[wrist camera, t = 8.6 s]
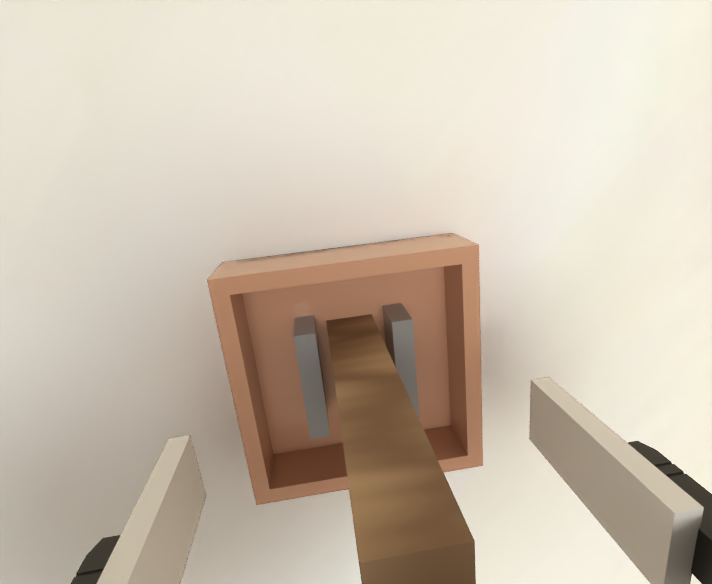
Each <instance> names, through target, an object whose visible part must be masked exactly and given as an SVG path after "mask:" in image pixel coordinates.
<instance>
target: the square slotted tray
mask: <svg viewBox="0 0 712 584" xmlns="http://www.w3.org/2000/svg"><path fill="white" fill-rule="evenodd" d="M207 282H208V287H209V291H210V296H211V300H212V305H213V309H214V314H215V318H216V323H217V328H218V332H219V337H220V341H221V346H222V350H223V355H224V359H225V364H226V368H227V373H228V378H229V382H230V387H231V391H232V396H233V400H234V405H235V409H236V414H237V418H238V423H239V428H240V432H241V437H242V441H243V446H244V450H245V455H246V459H247V464H248V468H249V473H250V478H251V482H252V487H253V491H254V496H255V500H256V505H259V504H265V503H271V502H276V501H282V500H288V499H293V498H299V497H305V496H311V495H316V494H322V493H328V492H334V491H339V490H345V489H349V485H348V478H347V470H346V463H345V455H344V448H343V441H342V433H341V426H340V418H339V411H338V404H337V396H336V389H335V382H334V374H333V367H332V359H331V352H330V345H329V337H328V330H327V322H326V320H333V319H340V318H348V317H355V316H362V315H369V314H372V316H373V319H374V321H375V323H376V325H377V327H378V330H379V332H380V334H381V336H382V338H383V341H384V343H385V345H386V347H387V349H388V352H389V354H390V356H391V358H392V361H393V363H394V365H395V367H396V369H397V372H398V374H399V376H400V378H401V380H402V383H403V385H404V387H405V389H406V391H407V394H408V396H409V398H410V400H411V402H412V405H413V407H414V409H415V411H416V413H417V416H418V418H419V420H420V422H421V424H422V427H423V429H424V431H425V433H426V435H427V438H428V440H429V442H430V444H431V446H432V449H433V451H434V453H435V455H436V457H437V460H438V462H439V464H440V466H441V469H442V471H443V472H449V471H454V470H460V469H466V468H472V467H477V466H483V450H482V395H481V341H480V286H479V244H476V243H474V242H472V241H469V240H467V239H465V238H463V237H460V236H458V235H456V234H453V233H449V234H441V235H434V236H426V237H418V238H410V239H402V240H394V241H386V242H378V243H370V244H362V245H355V246H347V247H339V248H331V249H323V250H315V251H307V252H299V253H291V254H283V255H276V256H268V257H260V258H252V259H244V260H236V261H228V262H222V264H221V265H220V266H219V267H218V268H217V269H216V270H215V271H214V272H213V274H212V275H211V276H210V277H209V278H208V279H207Z"/></svg>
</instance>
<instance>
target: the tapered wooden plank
mask: <svg viewBox="0 0 712 584" xmlns="http://www.w3.org/2000/svg"><path fill="white" fill-rule="evenodd" d="M326 322H327V330H328V337H329V345H330V352H331V359H332V367H333V374H334V382H335V389H336V396H337V404H338V411H339V418H340V426H341V433H342V441H343V448H344V455H345V463H346V470H347V478H348V485H349V492H350V500H351V507H352V514H353V522H354V529H355V537H356V544H357V551H358V559H359V566H360V573H361V581H362V584H476V580H475V543H474V539H473V537H472V535H471V532H470V530H469V528H468V526H467V524H466V521H465V519H464V517H463V515H462V513H461V510H460V508H459V506H458V504H457V502H456V499H455V497H454V495H453V493H452V491H451V488H450V486H449V484H448V482H447V480H446V477H445V475H444V473H443V471H442V469H441V466H440V464H439V462H438V460H437V457H436V455H435V453H434V451H433V449H432V446H431V444H430V442H429V440H428V438H427V435H426V433H425V431H424V429H423V427H422V424H421V422H420V420H419V418H418V416H417V413H416V411H415V409H414V407H413V405H412V402H411V400H410V398H409V396H408V394H407V391H406V389H405V387H404V385H403V383H402V380H401V378H400V376H399V374H398V372H397V369H396V367H395V365H394V363H393V361H392V358H391V356H390V354H389V352H388V349H387V347H386V345H385V343H384V341H383V338H382V336H381V334H380V332H379V330H378V327H377V325H376V323H375V321H374V319H373V316H372V314H369V315H362V316H355V317H348V318H340V319H333V320H326Z"/></svg>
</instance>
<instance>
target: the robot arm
mask: <svg viewBox="0 0 712 584" xmlns="http://www.w3.org/2000/svg"><path fill="white" fill-rule="evenodd" d="M529 439H530V440H531V441H532V443H533V444H534V445H535V446H536V447H537V449H538V450H539V451H540V452H541V453H542V455H543V456H544V457H545V458H546V459H547V460H548V462H549V463H550V464H551V465H552V466H553V468H554V469H555V470H556V471H557V472H558V474H559V475H560V476H561V477H562V478H563V480H564V481H565V482H566V483H567V484H568V486H569V487H570V488H571V489H572V490H573V492H574V493H575V494H576V495H577V496H578V497H579V499H580V500H581V501H582V502H583V503H584V505H585V506H586V507H587V508H588V509H589V511H590V512H591V513H592V514H593V515H594V517H595V518H596V519H597V520H598V521H599V523H600V524H601V525H602V526H603V527H604V528H605V530H606V531H607V532H608V533H609V534H610V536H611V537H612V538H613V539H614V540H615V542H616V543H617V544H618V545H619V546H620V548H621V549H622V550H623V551H624V552H625V554H626V555H627V556H628V557H629V558H630V560H631V561H632V562H633V563H634V564H635V565H636V567H637V568H638V569H639V570H640V571H641V573H642V574H643V575H644V576H645V577H646V579H647V580H648V581H649V582H650V583H651V584H690V581H691V576H692V574H693V575H694V576H695V577H696V578H697V579H698V580H699V581H700V582H701V583H702V584H712V494H711V493H710V492H708V491H707V490H706V489H705V488H703V487H702V486H701V485H700V484H698V483H697V482H696V481H695V480H693V479H692V478H691V477H689V476H688V475H687V474H684V473H683V471H682V470H681V469H679V468H678V467H677V466H676V465H674V464H672V463H671V461H669V460H668V459H667V458H666V457H664V456H663V455H662V454H661V453H659V452H658V451H657V450H655V449H653V448H651V447H649V446H647V445H645V444H643V443H641V442H639V441H634V442H629V443H627V442H626V441H625V440H623V439H622V438H621V437H620V436H619V435H617V434H616V433H615V432H614V431H613V430H612V429H610V428H609V427H608V426H607V425H606V424H604V423H603V422H602V421H601V420H600V419H599V418H597V417H596V416H595V415H594V414H593V413H591V412H590V411H589V410H588V409H587V408H586V407H584V406H583V405H582V404H581V403H580V402H578V401H577V400H576V399H575V398H574V397H573V396H571V395H570V394H569V393H568V392H567V391H565V390H564V389H563V388H562V387H561V386H559V385H558V384H557V383H556V382H555V381H554V380H552V379H551V378H550V377H545V378H539V379H533V380H531V393H530V437H529ZM205 498H206V493H205V489H204V486H203V482H202V478H201V474H200V470H199V467H198V463H197V459H196V455H195V451H194V448H193V444H192V440H191V436H190V435H187V436H181V437H175V438H169V439H168V441H167V443H166V445H165V447H164V449H163V451H162V453H161V455H160V457H159V459H158V461H157V463H156V465H155V467H154V469H153V471H152V473H151V475H150V477H149V479H148V481H147V483H146V485H145V487H144V489H143V491H142V493H141V495H140V497H139V499H138V501H137V503H136V505H135V507H134V509H133V511H132V513H131V515H130V517H129V519H128V521H127V523H126V526H125V528H124V530H123V532H122V534H121V535H118V536H112V537H107V538H103V539H102V540H101V541H100V542H99V543H98V544H97V545H96V546H95V547H94V548H93V549H92V550H91V551H90V552H89V553H88V554H87V556H86V557H85V559H84V561H83V563H82V565H81V566H80V568H79V570H78V572H77V573H76V574H77V575H76V577H74V579H73V581H72V582H71V584H180V582H181V579H182V575H183V572H184V569H185V565H186V562H187V559H188V555H189V552H190V548H191V545H192V542H193V538H194V535H195V531H196V528H197V525H198V521H199V518H200V515H201V511H202V508H203V504H204V501H205Z"/></svg>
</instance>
